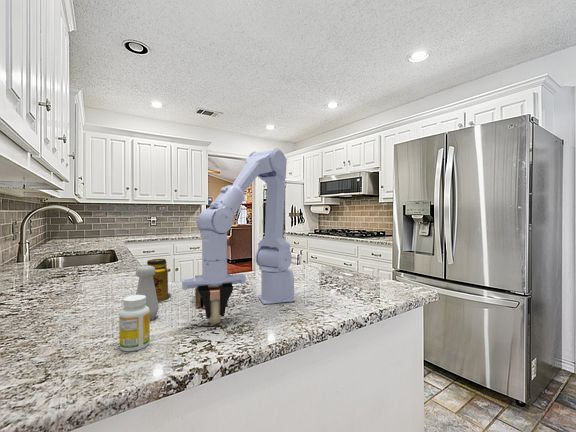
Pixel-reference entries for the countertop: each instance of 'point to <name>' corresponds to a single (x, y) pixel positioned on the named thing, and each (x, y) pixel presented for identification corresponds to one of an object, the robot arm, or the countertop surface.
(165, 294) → the condiment
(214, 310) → the cord block
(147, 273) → the salt shaker
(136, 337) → the supplement bottle
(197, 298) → the panel
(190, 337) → the countertop surface
